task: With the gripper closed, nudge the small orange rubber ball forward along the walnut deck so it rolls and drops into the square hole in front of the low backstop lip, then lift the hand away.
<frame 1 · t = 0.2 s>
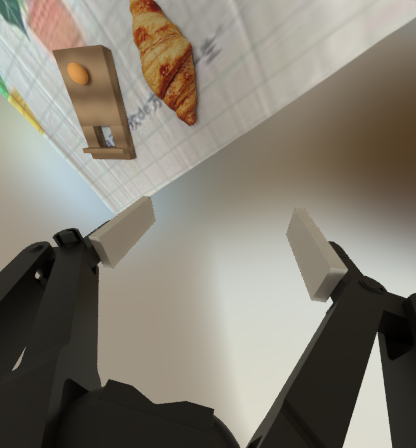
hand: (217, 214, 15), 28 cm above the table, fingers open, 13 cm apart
ball: (78, 73, 31), point 4 cm above the table, touching deck
deck: (104, 112, 38), on the table
croissant: (172, 66, 31), on the table
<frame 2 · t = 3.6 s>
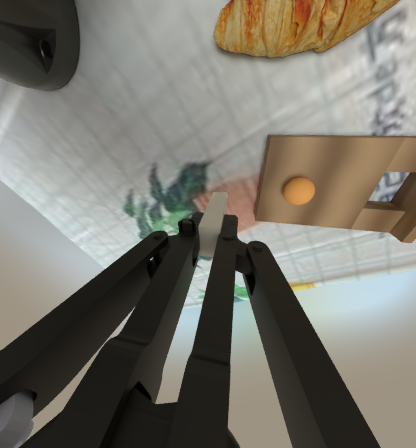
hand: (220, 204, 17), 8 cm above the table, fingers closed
ball: (298, 191, 19), point 4 cm above the table, touching deck
deck: (337, 182, 21), on the table
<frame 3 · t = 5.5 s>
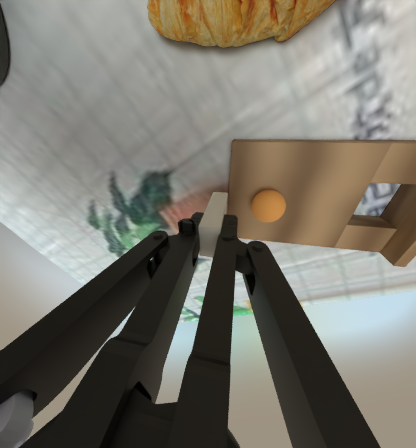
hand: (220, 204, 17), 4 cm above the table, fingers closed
ball: (267, 206, 16), point 4 cm above the table, touching deck
deck: (317, 194, 18), on the table
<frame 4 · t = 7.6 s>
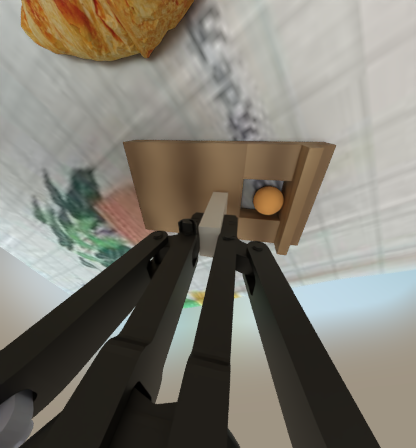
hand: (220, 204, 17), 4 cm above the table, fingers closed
ball: (267, 200, 18), point 2 cm above the table, tilted 86°
deck: (219, 190, 20), on the table
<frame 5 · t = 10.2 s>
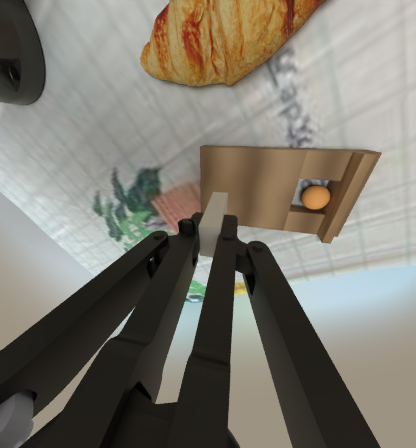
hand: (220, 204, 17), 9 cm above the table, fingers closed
ball: (315, 197, 21), point 2 cm above the table, tilted 86°
deck: (270, 188, 24), on the table
croissant: (234, 20, 16), on the table
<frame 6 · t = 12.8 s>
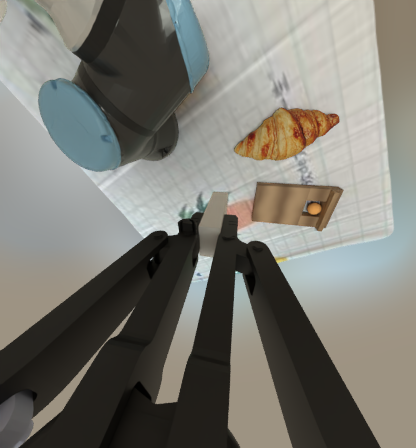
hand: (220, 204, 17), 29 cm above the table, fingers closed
ball: (314, 208, 43), point 2 cm above the table, tilted 85°
deck: (290, 203, 45), on the table
croissant: (278, 134, 37), on the table
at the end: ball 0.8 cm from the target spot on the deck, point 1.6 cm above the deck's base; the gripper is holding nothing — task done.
